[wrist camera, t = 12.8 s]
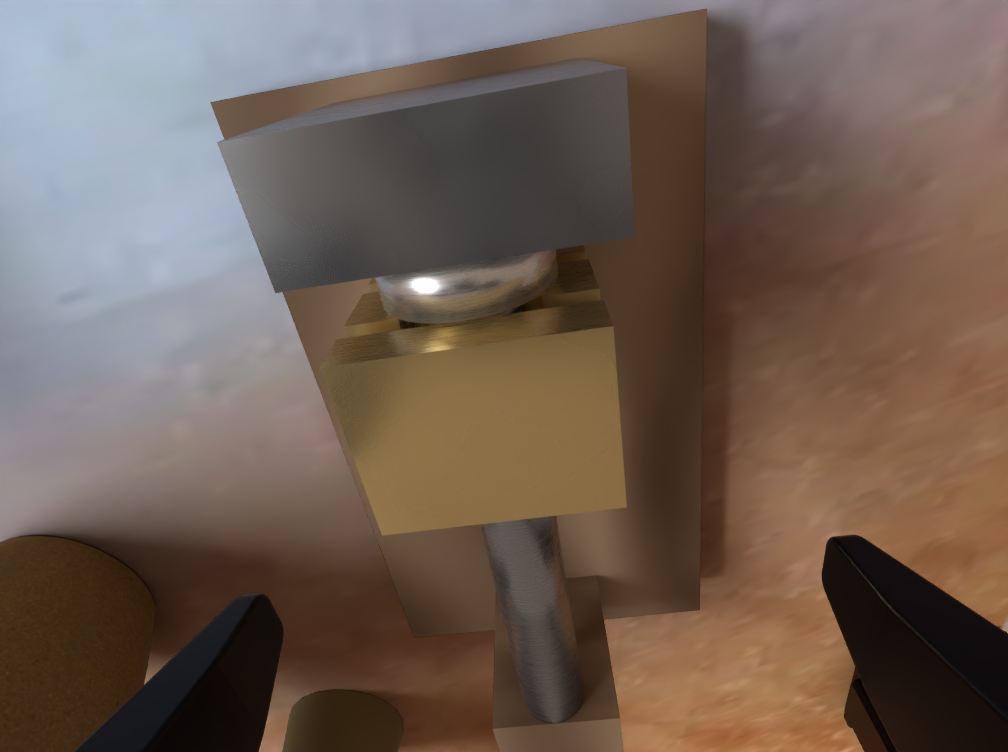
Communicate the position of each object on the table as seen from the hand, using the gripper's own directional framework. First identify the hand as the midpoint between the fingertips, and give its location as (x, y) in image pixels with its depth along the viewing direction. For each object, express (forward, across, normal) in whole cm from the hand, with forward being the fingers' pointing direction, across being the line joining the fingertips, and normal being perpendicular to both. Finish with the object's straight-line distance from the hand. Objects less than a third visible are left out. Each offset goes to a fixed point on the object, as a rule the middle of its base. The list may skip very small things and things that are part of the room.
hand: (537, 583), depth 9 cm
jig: (+11, +1, +3) cm, 11 cm away
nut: (+7, +1, -1) cm, 7 cm away
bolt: (+9, +1, +2) cm, 10 cm away
